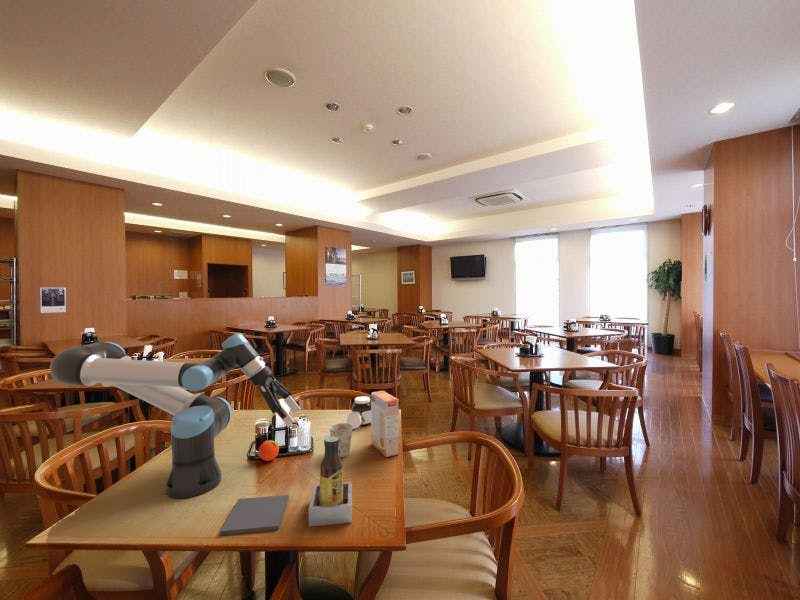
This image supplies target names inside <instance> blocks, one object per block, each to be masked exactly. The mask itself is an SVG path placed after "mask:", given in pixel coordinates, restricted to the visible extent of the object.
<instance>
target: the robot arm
mask: <svg viewBox="0 0 800 600" xmlns="http://www.w3.org/2000/svg"><path fill="white" fill-rule="evenodd" d="M221 346H222V348H223V349H222V350H221V351H220V352H219V353H217V354H215V355H214V356H212V357H211V358H209V359H208V360H205V361H202V362H201V363H195V362H194V363H193V362H189V363H188V362H178V361H177V362H176V361H175V362H174V361H162V360H160V361H158V360H145V359H143V360H142V359H141V360H140V359H132V357H131V356H130V355H127V354H126V350H125V349H124V348H123V347H122V345H119V344H117V343H115V342H111V341H99V342H93V343H90V344H87V345H80V346H74V347H69V348H65V349H64V350H61V351H59V352H58V353H57V354H56V355H55V356H54V357H53V358H52V360H51V361H50V365H49V373H50V375H51V377H52V378H53V379H54V380H55V381H56V382H57V383H59V384H62V385H66V386H76V387H92V386H94V385H96V384H98V385H100V386H102V387H104V388H105V387H111V386H113V387H115V388H117V389H120V390H122V391H123V392H126V393H127V394H130V395H131V396H134V397H136V398H138V399H139V400H142V401H144V402H146V403H148V404H150V405H152V406H154V407H156V408H157V409H160V410H162V411H164V412H166V413H168V414H169V415H171V416H173V417H172V418H171V422H170V423H171V426H170V435H171V436H170V437H171V438H170V439H171V461H172V462H171V468H170V470H169V471H170V472H169V475H168V478H167V480H166V483H165V494H166V495H167V496H168V497H170V498H174V499H188V498H191V497H196V496H200V495H203V494H205V493H208V492H210V491H211V490H213V489H214V488H216V487H217V486H218V485H219V484H220V483H221V481H222V471H221V469H220V465H219V463H218V460H217V458H216V456H215V455H216V454H215V452H216V451H215V450H216V449H215V439H216V438H217V436H218V435H220V434H221V432H223V431H224V429H226V428H227V427H228V425H229V424H230V422H231V421H232V420H231V419H232V417H233V409H232V405H231V404H230V403H229V402H228V401H227V400H226V399H224V398H223V397H219V396H217V397H210V396H208V395H206V394H204V393H196V394H194V393H191V392H199V391H201V390H204V389H207V388H208V387H209V386H211V385H213V384H214V383H216V382H218V381H220V380H221V379H222V378H223V377H224V376H226V375H227V374H228V373H230V372H231V371H232V370H233V369H235V368H236V367H238V368H239V369H240V371H242V373H243V374H244V375H245V377H246V378H249V381H250V383H252V385H253V386H254V387H258V386H259V385H260V387H259V388H258V391H259V392H260V393H261V395H262V396H263V398H264V400H265V402H266V403H267V405H268V407H269V409H270V410H271V413H272V414H273V415H275V413H276V414H277V415H278V417H280V419H281V420H282V422H283V423H284V424H285V425H286V427H290V426H291V425H292V424H294V423H295V420H294V419H293V417H292V416H291V414H290V413H289V412H288V411H287V409H285V407H284V406H282V405H281V403H280V400H279V398H278V396H279V397H280V398H282V399H283V401H284V403H286V405H287V406H288V407H289V409H290V410H291V412H292V413H293V414H296V413H298V412H299V411H300V410H301V407H300V406H299V405H298V403H297V402H296V401H295V400H294V399H293V398H292V397H293V396H291V395H292V392H291V391H290V390H289V389H288V388H286V386H284V385H283V384H282V383H281V382H280V381H278V379H276V377H275V376H274V375H273V373H274V372H273V371H272V370H271V368H270V367H269V365H266V361H264V358H263V356H260V355H259V354H258V352H257V350H256V349H255V348H254V347H253V346H252V345H251V343H250V341H249V340H247V339H246V338H245V336H244V335H243V333H240V332H238V333H234V334H232V335H231V336H229V337H228V338H226V340H225V341H223V342H222V343H221ZM187 390H188V391H187ZM277 395H278V396H277Z"/></svg>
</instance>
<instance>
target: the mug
mask: <svg viewBox="0 0 800 600" xmlns="http://www.w3.org/2000/svg"><path fill="white" fill-rule="evenodd" d="M329 433H330V437H338V438H339V444H338V452H339V457H340V458H344V457H345V458H346V457H348V456H349V455H350V453H351V445H352V436H353V429H352V425H350V424H347V422H343V423H342V422H340V423H335V424H332V425H331V426H330V427H329Z"/></svg>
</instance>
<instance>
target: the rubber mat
mask: <svg viewBox="0 0 800 600" xmlns="http://www.w3.org/2000/svg"><path fill="white" fill-rule="evenodd" d="M289 499H290V495H289V494H284V495H270V496H259V497H245V498H238V500H237V502H236V503H235V504H234V507H233V509H232V511H231V512H230V514H229V515H228V518H227V519H226V521H225V523H224V525H223V527H222V528H221V530H220V536H225V535H235V534H236V535H237V534H246V533H255V532H257V533H258V532H267V531H268V532H269V531H278V530H279V529H280V526H281V524H282V521H283V518H284V514H285V511H286V508H287V505H288V502H289Z"/></svg>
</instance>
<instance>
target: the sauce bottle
mask: <svg viewBox="0 0 800 600" xmlns="http://www.w3.org/2000/svg"><path fill="white" fill-rule="evenodd" d="M338 444H339V438H338V437H331V436H327V437H325V438H324V440H323V445H324V457H323V458H322V459H321V462H320V467H319V469H320V472H319V484H320V501H319V506H328V505H339V504H344V499H343V482H344V467H343V464H342V461H341V457H339V452H338Z"/></svg>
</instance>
